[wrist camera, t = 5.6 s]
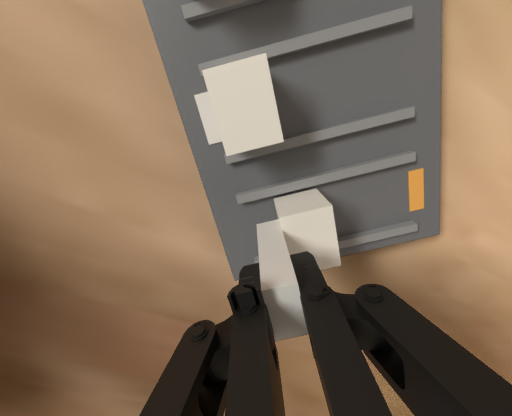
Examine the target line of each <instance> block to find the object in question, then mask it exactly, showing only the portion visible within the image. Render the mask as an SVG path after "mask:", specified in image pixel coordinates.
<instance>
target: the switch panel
mask: <svg viewBox="0 0 512 416" xmlns="http://www.w3.org/2000/svg"><path fill="white" fill-rule="evenodd" d="M142 1H143V4H144V7H145V10H146V13H147V16H148V19H149V22H150V25H151V28H152V31H153V34H154V37H155V40H156V43H157V46H158V49H159V52H160V55H161V58H162V61H163V64H164V68H165V71H166V74H167V77H168V80H169V83H170V86H171V89H172V92H173V95H174V98H175V101H176V104H177V107H178V110H179V113H180V116H181V119H182V122H183V125H184V128H185V131H186V134H187V137H188V140H189V143H190V146H191V149H192V152H193V155H194V158H195V162H196V165H197V168H198V171H199V174H200V177H201V180H202V183H203V186H204V189H205V192H206V195H207V198H208V201H209V204H210V207H211V210H212V213H213V216H214V219H215V222H216V225H217V228H218V231H219V234H220V237H221V240H222V243H223V246H224V249H225V253H226V256H227V259H228V262H229V265H230V268H231V271H232V274H233V277H234V280H235V281H237V280H239V272H240V271H241V269H242V268H243V266H246V265H251V264H255V263H259V254H258V240H257V226H256V224H260V223H264V222H269V221H273V220H277V219H278V217H277V212H276V208H275V204H274V198H278V197H282V196H286V195H290V194H294V193H298V192H303V191H307V190H311V189H315V188H317V190H318V191H319V192H320V193H321V194H322V195H323V196H324V197H325V198H326V199H327V200H328V201H329V202H330V203H331V204H332V206H333V213H334V220H335V226H336V233H337V240H338V246H339V253H340V257H342V256H346V255H351V254H355V253H359V252H364V251H368V250H373V249H377V248H381V247H386V246H390V245H394V244H399V243H403V242H408V241H412V240H416V239H421V238H425V237H430V236H434V235H438V234H440V138H441V24H442V0H142ZM263 53H266V55H267V60H268V65H269V70H270V75H271V80H272V85H273V90H274V95H275V100H276V105H277V110H278V115H279V120H280V124H281V129H282V134H283V139H284V142H281V143H277V144H273V145H269V146H265V147H261V148H257V149H253V150H249V151H245V152H242V153H238V154H234V155H230V156H226V153H225V150H224V146H223V143H222V139H221V136H220V132H219V129H218V125H217V122H216V118H215V115H214V111H213V108H212V104H211V101H210V97H209V94H208V90H207V87H206V83H205V80H204V76H203V73H202V70H205V69H208V68H212V67H216V66H219V65H223V64H227V63H230V62H234V61H238V60H241V59H245V58H248V57H252V56H256V55H259V54H263Z"/></svg>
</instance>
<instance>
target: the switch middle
mask: <svg viewBox="0 0 512 416" xmlns="http://www.w3.org/2000/svg"><path fill="white" fill-rule="evenodd" d="M202 73H203V76H204V80H205V83H206V87H207V90H208V94H209V97H210V101H211V104H212V108H213V111H214V115H215V118H216V122H217V125H218V129H219V132H220V136H221V139H222V143H223V146H224V150H225V153H226V156H230V155H234V154H238V153H242V152H245V151H249V150H253V149H257V148H261V147H265V146H269V145H273V144H277V143H281V142H284V139H283V134H282V129H281V124H280V120H279V115H278V110H277V105H276V100H275V95H274V90H273V85H272V80H271V75H270V70H269V65H268V60H267V55H266V53H263V54H259V55H256V56H252V57H248V58H245V59H241V60H238V61H234V62H230V63H227V64H223V65H219V66H216V67H212V68H208V69H205V70H202Z"/></svg>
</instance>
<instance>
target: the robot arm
mask: <svg viewBox="0 0 512 416" xmlns="http://www.w3.org/2000/svg"><path fill="white" fill-rule="evenodd" d="M256 226H257V240H258V254H259V263H255V264H251V265H246V266H243V268H242V269H241V271H240V272H239V285H237V286H235V287H234V288H232V289H231V291H230V292H229V294H228V296H227V297H228V300H229V303H230V306H231V309H232V312H233V315H232V316H231V317H229V318H228V319H227V320H225V321H223V322H221V323H219V324H217V325H215V324H214V323H213V322H212V321H209V320H203V321H199V322H197V323H195V324H193V325H192V326H190V327H189V328H188V329H187V331H186V332H185V333H184V335H183V337H182V339H181V341H180V342H179V344H178V346H177V348H176V350H175V351H174V353H173V355H172V357H171V359H170V361H169V362H168V364H167V366H166V368H165V370H164V372H163V373H162V375H161V377H160V379H159V381H158V383H157V384H156V386H155V388H154V390H153V392H152V393H151V395H150V397H149V399H148V401H147V403H146V404H145V406H144V408H143V410H142V412H141V414H140V415H139V416H223V414H224V411H225V416H285V409H284V401H283V393H282V385H281V377H280V369H279V361H278V353H277V349H276V345H275V341H279V340H283V339H288V338H293V337H298V336H303V335H308V334H309V337H310V342H311V346H312V351H313V355H314V358H315V361H316V365H317V368H318V372H319V376H320V380H321V383H322V387H323V391H324V394H325V398H326V402H327V406H328V409H329V413H330V416H392V414H391V412H390V410H389V408H388V406H387V403H386V401H385V399H384V397H383V395H382V393H381V391H380V389H379V387H378V385H377V382H376V380H375V378H374V376H373V374H372V372H371V370H370V368H369V366H368V363H367V361H366V359H365V357H364V355H363V353H362V351H361V350H363V351H364V353H365V354H366V356H367V357H368V358H369V359H370V361H371V362H372V363H373V364H374V366H375V367H376V368H377V369H378V371H379V372H380V373H381V374H382V376H383V377H384V378H385V379H386V381H387V382H388V383H389V384H390V386H391V387H392V388H393V389H394V391H395V392H396V393H397V394H398V395H399V397H400V398H401V399H402V400H403V402H404V403H405V404H406V405H407V407H408V408H409V409H410V410H411V412H412V413H413V414H414V415H415V416H512V385H511V384H510V383H509V382H507V381H506V380H505V379H503V378H502V377H501V376H500V375H498V374H497V373H496V372H494V371H493V370H492V369H491V368H489V367H488V366H487V365H485V364H484V363H483V362H482V361H480V360H479V359H478V358H476V357H475V356H474V355H473V354H471V353H470V352H469V351H467V350H466V349H465V348H464V347H462V346H461V345H460V344H458V343H457V342H456V341H455V340H453V339H452V338H451V337H449V336H448V335H447V334H446V333H444V332H443V331H442V330H440V329H439V328H438V327H437V326H435V325H434V324H433V323H431V322H430V321H429V320H428V319H426V318H425V317H424V316H423V315H421V314H420V313H419V312H417V311H416V310H415V309H414V308H412V307H411V306H410V305H408V304H407V303H406V302H405V301H403V300H402V299H401V298H399V297H398V296H397V295H396V294H394V293H393V292H392V291H390V290H389V289H387V288H386V287H384V286H381V285H377V284H366V285H362V286H361V287H359V288H358V289H357V290H356V292H355V294H341V293H337V292H335V291H333V290H332V289H331V288H330V287H329V286H327V284H326V282H325V279H324V277H323V275H322V273H321V271H320V269H319V267H318V264H317V262H316V260H315V258H314V256H313V255H312V254H311V253H309V252H308V251H305V252H301V253H297V254H292V255H289V251H288V248H287V245H286V241H285V238H284V234H283V231H282V228H281V225H280V221H279V219H277V220H273V221H269V222H264V223H260V224H256ZM274 338H275V340H274ZM225 407H226V408H225Z"/></svg>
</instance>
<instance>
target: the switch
mask: <svg viewBox="0 0 512 416" xmlns="http://www.w3.org/2000/svg"><path fill="white" fill-rule="evenodd" d="M274 204H275V208H276V212H277V217H278V219H279V221H280V225H281V228H282V231H283V234H284V238H285V241H286V245H287V248H288V251H289V255H292V254H297V253H301V252H305V251H308V252H309V253H311V254H312V255H313V256H314V258H315V260H316V262H317V264H318V267H319V269H320V270H324V269H329V268H333V267H338V266H341V260H340V253H339V246H338V240H337V233H336V226H335V220H334V213H333V206H332V204H331V203H330V202H329V201H328V200H327V199H326V198H325V197H324V196H323V195H322V194H321V193H320V192H319V191H318V190H317V188H315V189H311V190H307V191H303V192H298V193H294V194H290V195H286V196H282V197H278V198H274Z"/></svg>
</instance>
